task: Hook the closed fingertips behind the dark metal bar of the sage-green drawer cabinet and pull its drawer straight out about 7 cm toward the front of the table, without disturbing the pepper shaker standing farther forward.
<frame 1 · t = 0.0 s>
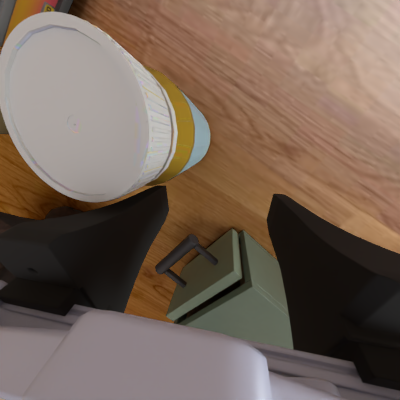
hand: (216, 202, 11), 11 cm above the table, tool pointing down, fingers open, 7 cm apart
drawer: (225, 288, 21), point 5 cm above the table, slide at 0.5 cm
bottle: (183, 137, 20), on the table, touching gripper
cabinet: (245, 279, 26), on the table
jug: (83, 232, 29), on the table
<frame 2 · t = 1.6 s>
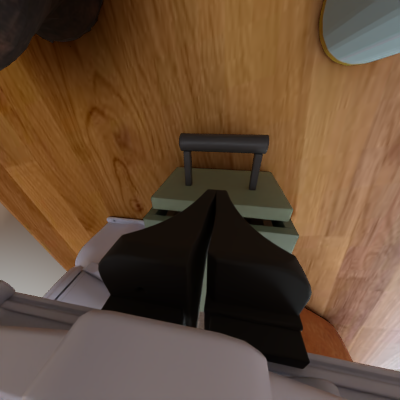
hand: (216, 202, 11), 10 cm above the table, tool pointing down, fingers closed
drawer: (217, 217, 18), point 5 cm above the table, slide at 0.5 cm
bottle: (366, 8, 12), on the table
cabinet: (218, 222, 25), on the table
bread: (275, 323, 38), on the table
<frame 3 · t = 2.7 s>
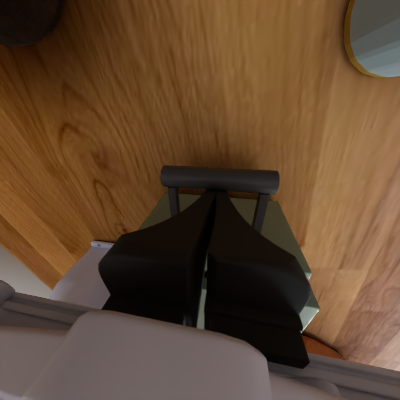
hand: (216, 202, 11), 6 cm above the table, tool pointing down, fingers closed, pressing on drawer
drawer: (213, 256, 15), point 5 cm above the table, slide at 0.5 cm, touching gripper
cabinet: (215, 250, 22), on the table
bread: (278, 350, 34), on the table
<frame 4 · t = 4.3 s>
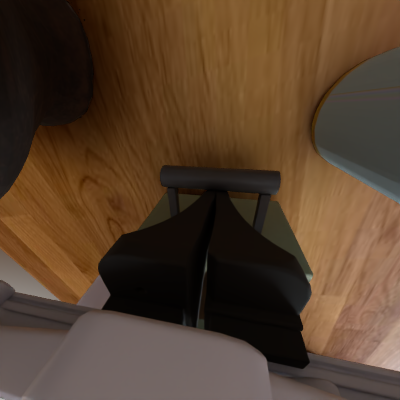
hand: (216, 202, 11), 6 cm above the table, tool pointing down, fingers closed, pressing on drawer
drawer: (213, 256, 15), point 5 cm above the table, slide at 6.2 cm, touching gripper
bottle: (360, 116, 12), on the table
jug: (49, 60, 13), on the table
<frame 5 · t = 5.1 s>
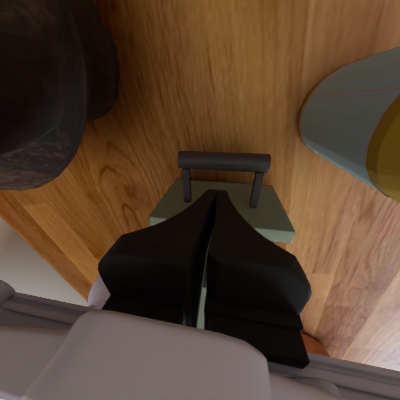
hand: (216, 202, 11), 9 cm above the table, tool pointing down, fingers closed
drawer: (217, 232, 18), point 5 cm above the table, slide at 6.2 cm
bottle: (337, 112, 14), on the table
bread: (270, 340, 40), on the table
jug: (81, 67, 16), on the table
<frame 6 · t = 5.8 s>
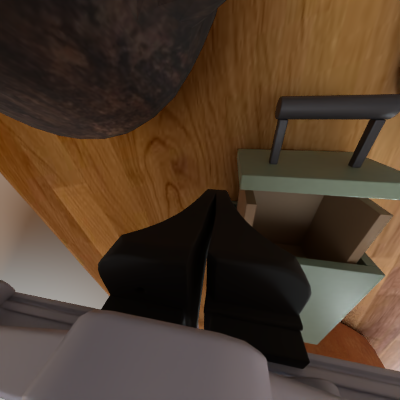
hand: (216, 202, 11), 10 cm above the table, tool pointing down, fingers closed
drawer: (292, 204, 16), point 5 cm above the table, slide at 6.2 cm
cabinet: (263, 242, 25), on the table
bread: (304, 334, 38), on the table
jug: (146, 14, 14), on the table
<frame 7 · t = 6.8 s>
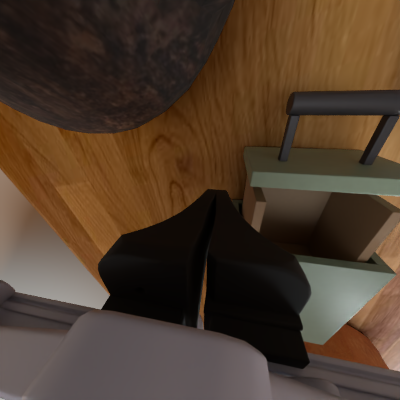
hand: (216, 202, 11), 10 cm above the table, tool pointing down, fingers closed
drawer: (300, 202, 16), point 5 cm above the table, slide at 6.2 cm
cabinet: (268, 241, 25), on the table
bread: (307, 334, 38), on the table
jug: (153, 9, 14), on the table
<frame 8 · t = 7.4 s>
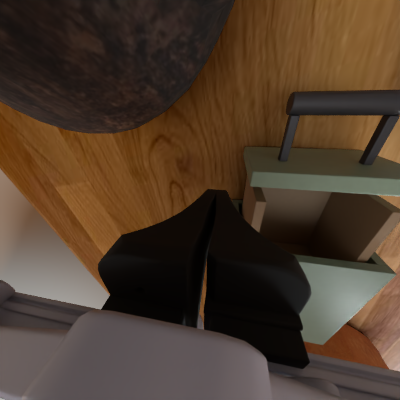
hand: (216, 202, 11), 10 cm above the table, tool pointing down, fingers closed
drawer: (300, 202, 16), point 5 cm above the table, slide at 6.2 cm
cabinet: (268, 241, 25), on the table
bread: (307, 334, 38), on the table
jug: (153, 9, 14), on the table
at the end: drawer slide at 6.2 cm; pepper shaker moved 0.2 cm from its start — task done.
